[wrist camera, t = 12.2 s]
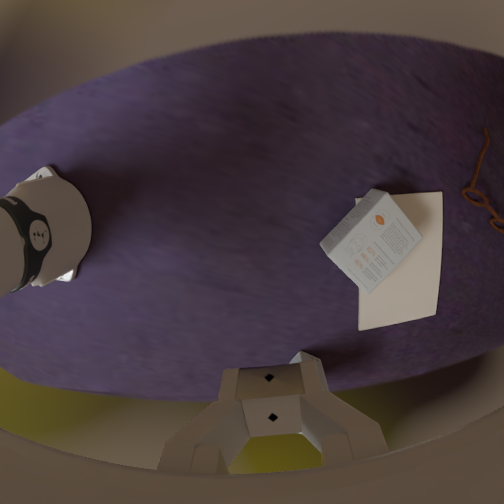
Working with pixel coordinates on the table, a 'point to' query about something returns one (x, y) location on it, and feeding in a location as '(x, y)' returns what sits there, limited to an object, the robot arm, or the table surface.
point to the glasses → (479, 191)
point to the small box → (371, 240)
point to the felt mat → (409, 269)
